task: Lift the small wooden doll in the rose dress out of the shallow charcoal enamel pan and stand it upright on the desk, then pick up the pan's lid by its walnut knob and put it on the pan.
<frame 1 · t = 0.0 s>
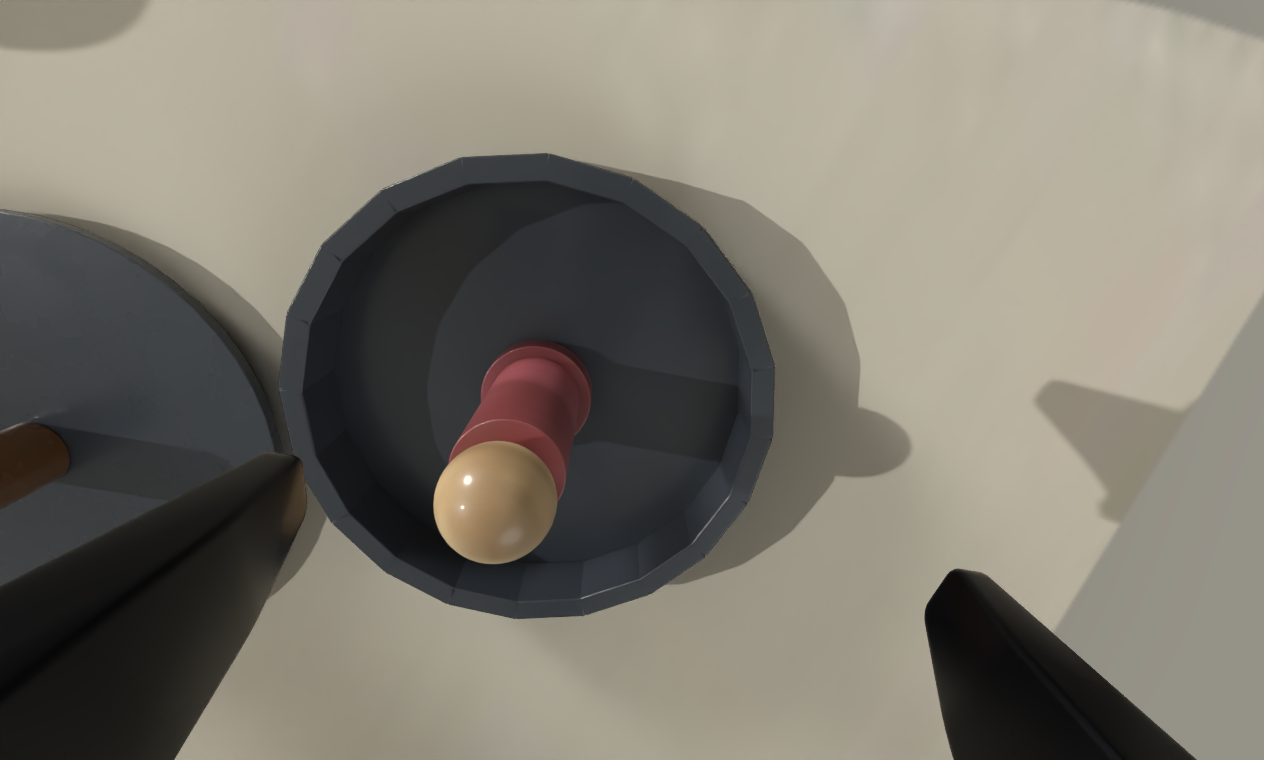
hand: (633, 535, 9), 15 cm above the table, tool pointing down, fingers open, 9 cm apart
lid: (49, 446, 24), point 1 cm above the table
doll: (539, 390, 24), resting on pan
pan: (540, 386, 24), on the table
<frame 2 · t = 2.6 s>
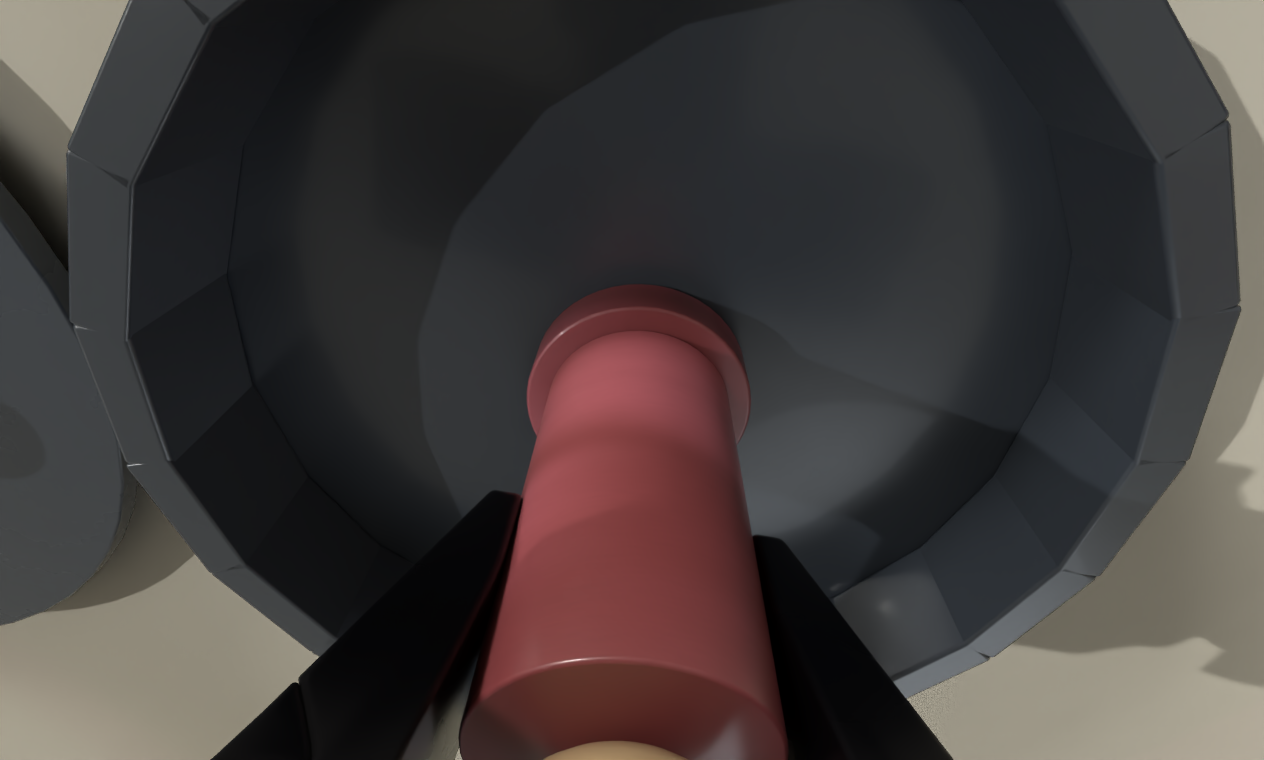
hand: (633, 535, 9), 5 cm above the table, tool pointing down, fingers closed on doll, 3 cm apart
doll: (639, 379, 12), point 1 cm above the table, touching gripper, pan
pan: (640, 366, 12), on the table
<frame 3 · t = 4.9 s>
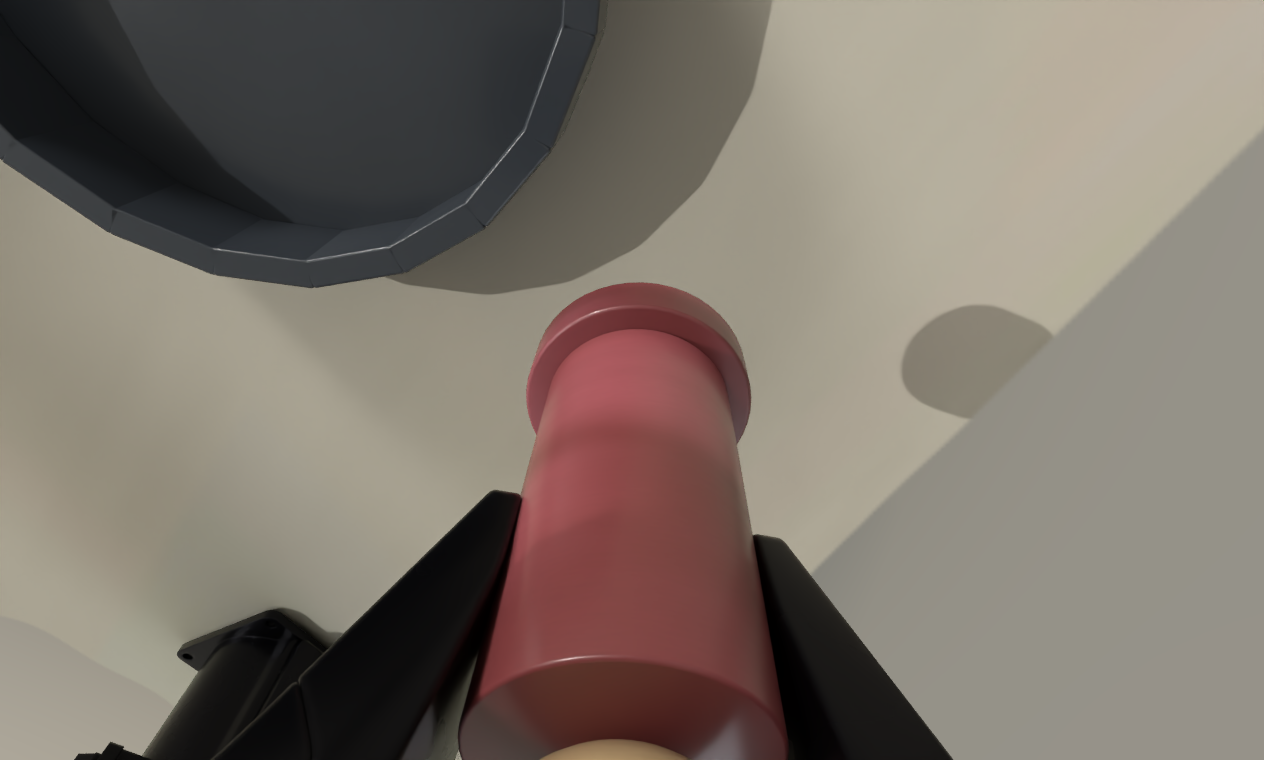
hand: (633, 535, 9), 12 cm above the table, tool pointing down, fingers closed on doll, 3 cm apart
doll: (639, 378, 12), point 8 cm above the table, touching gripper
when the fingers open (4 cm above the table, at t = 7.2 s): doll stays where it is, on the table.
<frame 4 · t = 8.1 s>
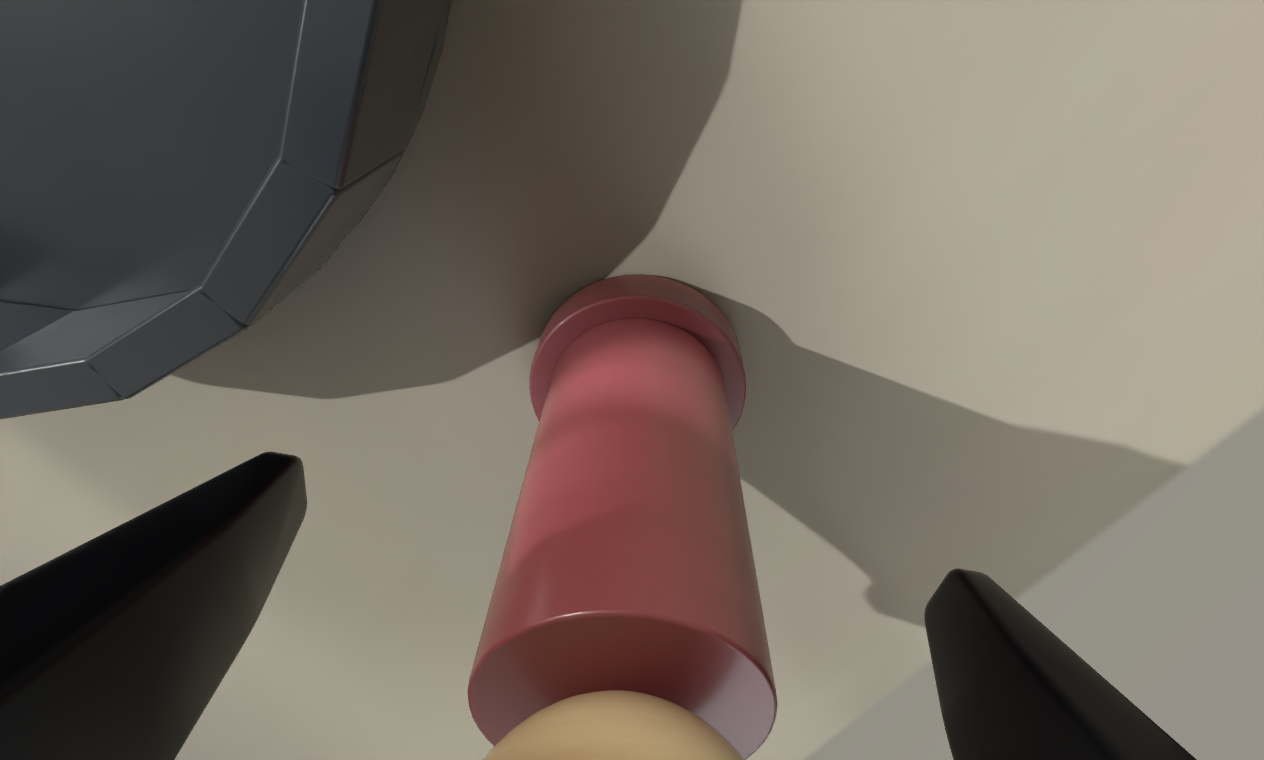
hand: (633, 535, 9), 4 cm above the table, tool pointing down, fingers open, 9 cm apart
doll: (638, 367, 12), on the table
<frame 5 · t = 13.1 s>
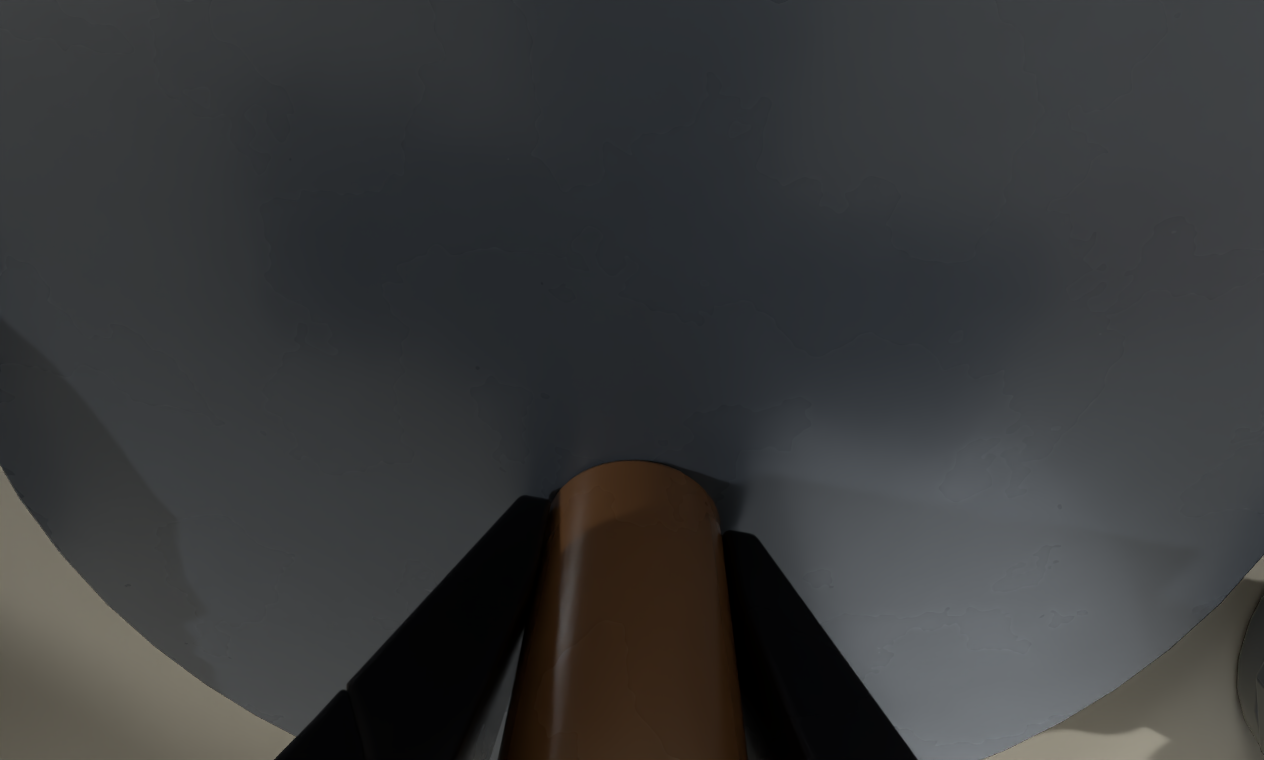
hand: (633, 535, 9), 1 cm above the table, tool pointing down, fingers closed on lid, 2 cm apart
lid: (634, 499, 9), point 1 cm above the table, touching gripper
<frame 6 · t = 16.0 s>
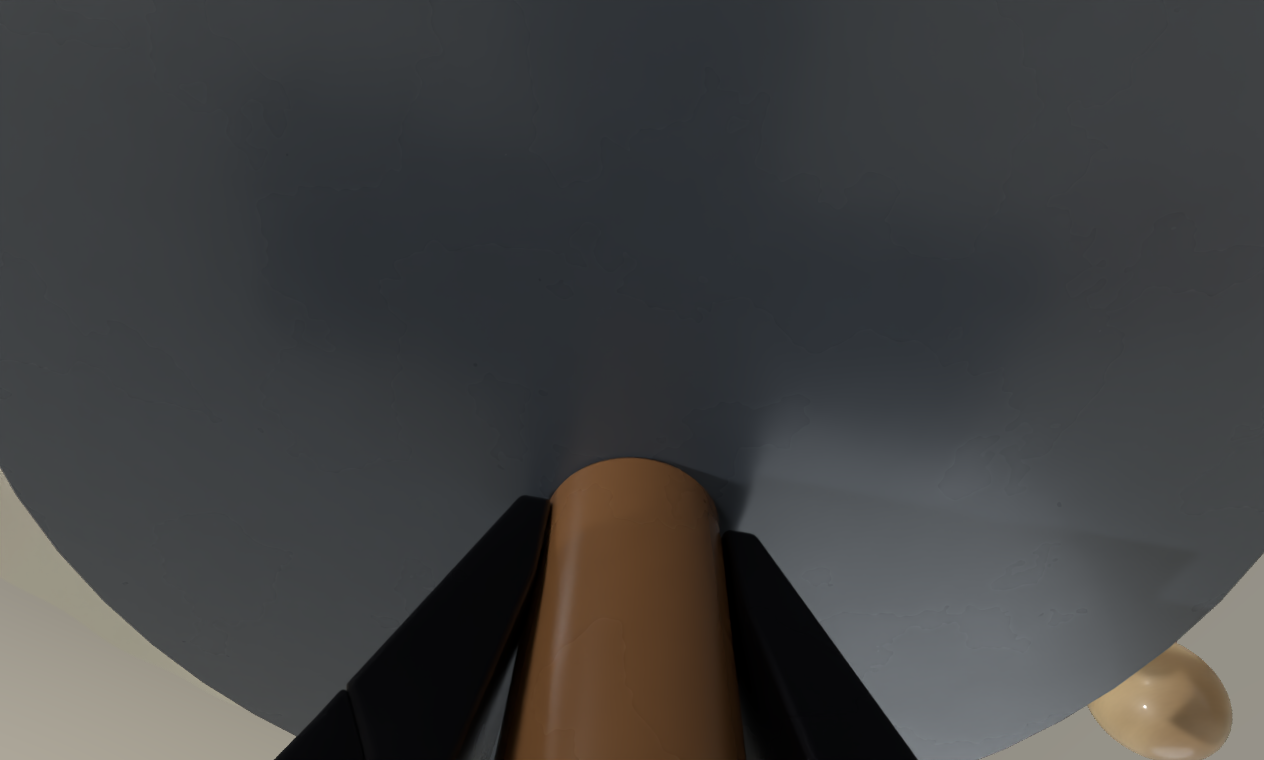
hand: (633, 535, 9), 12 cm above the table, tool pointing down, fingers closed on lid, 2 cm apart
lid: (633, 497, 9), point 12 cm above the table, touching gripper
doll: (1000, 478, 23), on the table
when the fingers open (4 cm above the table, at t = 18.9 s): lid stays where it is, resting on pan.
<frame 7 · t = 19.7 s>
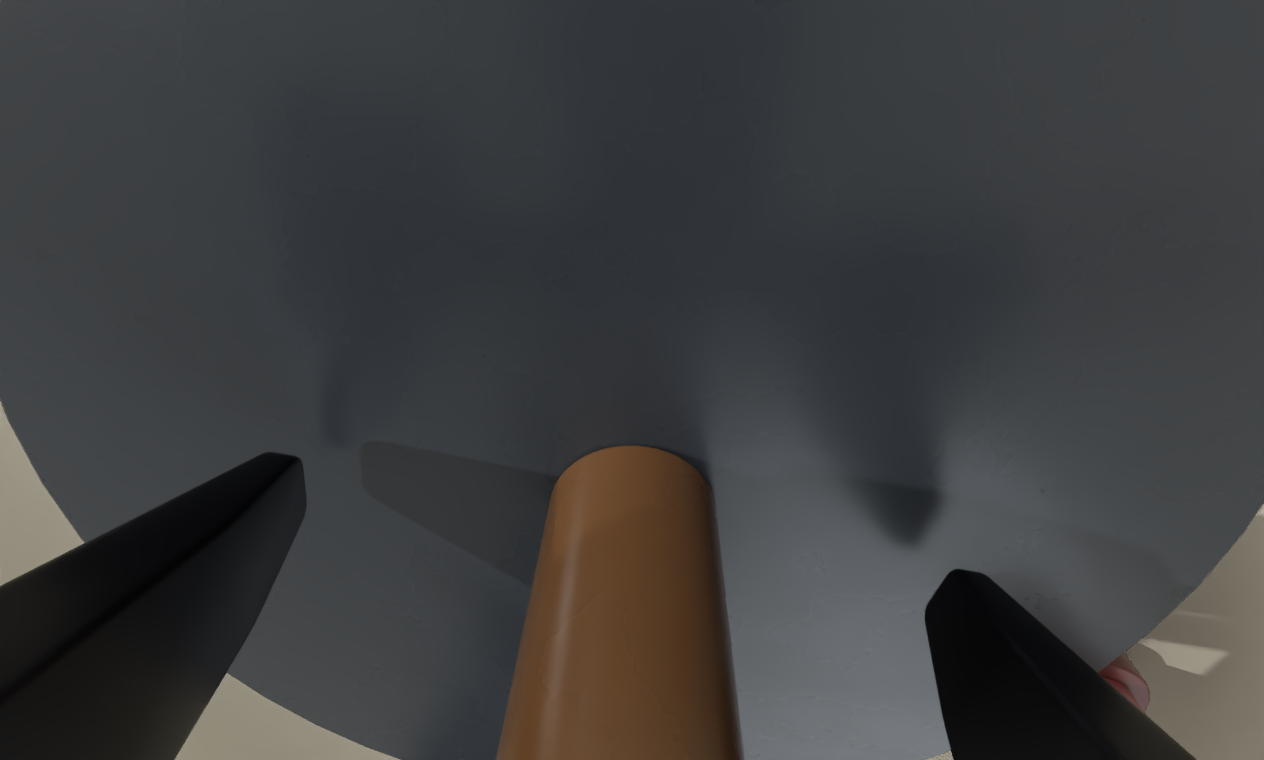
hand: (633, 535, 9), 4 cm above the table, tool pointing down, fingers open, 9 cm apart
lid: (633, 484, 10), point 3 cm above the table, touching pan
doll: (1041, 675, 17), on the table
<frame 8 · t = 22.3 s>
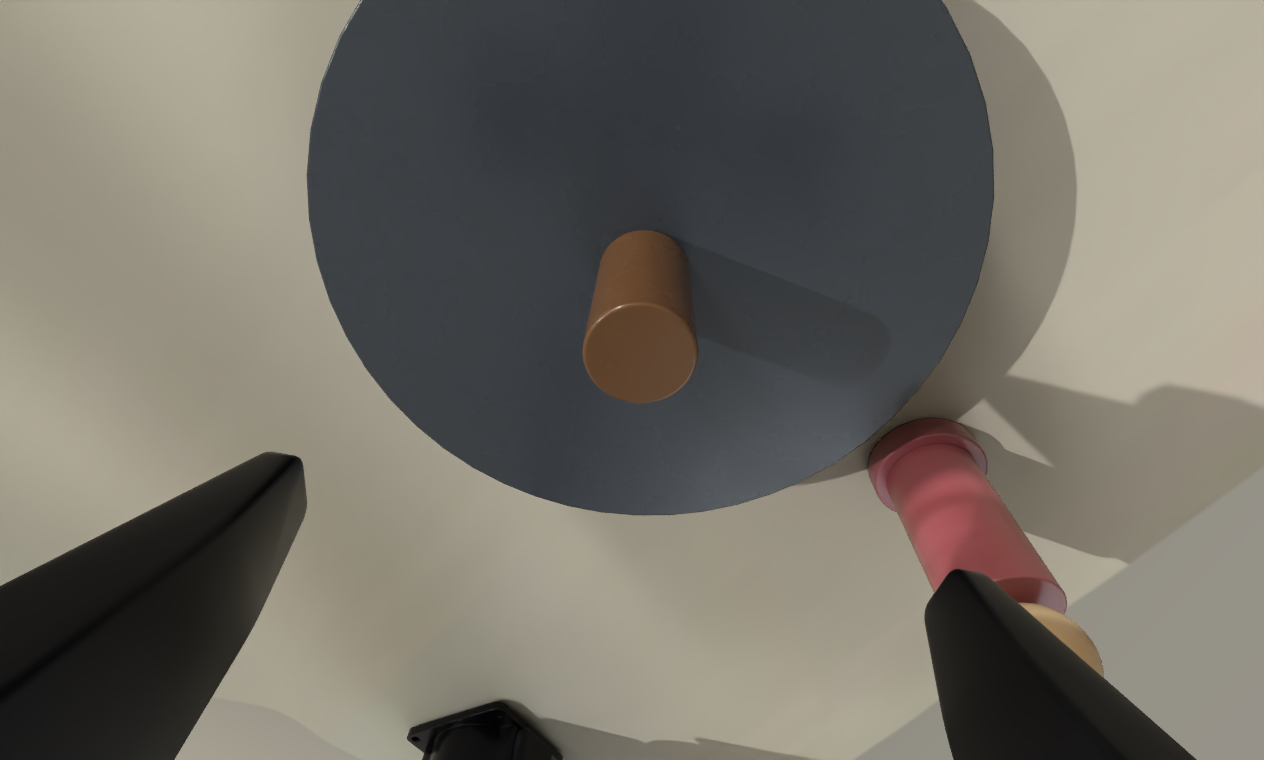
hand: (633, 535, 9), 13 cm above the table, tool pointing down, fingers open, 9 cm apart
lid: (644, 265, 17), point 3 cm above the table, touching pan
doll: (921, 460, 24), on the table
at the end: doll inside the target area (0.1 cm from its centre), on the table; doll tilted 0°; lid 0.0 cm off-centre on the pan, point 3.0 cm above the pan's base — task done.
